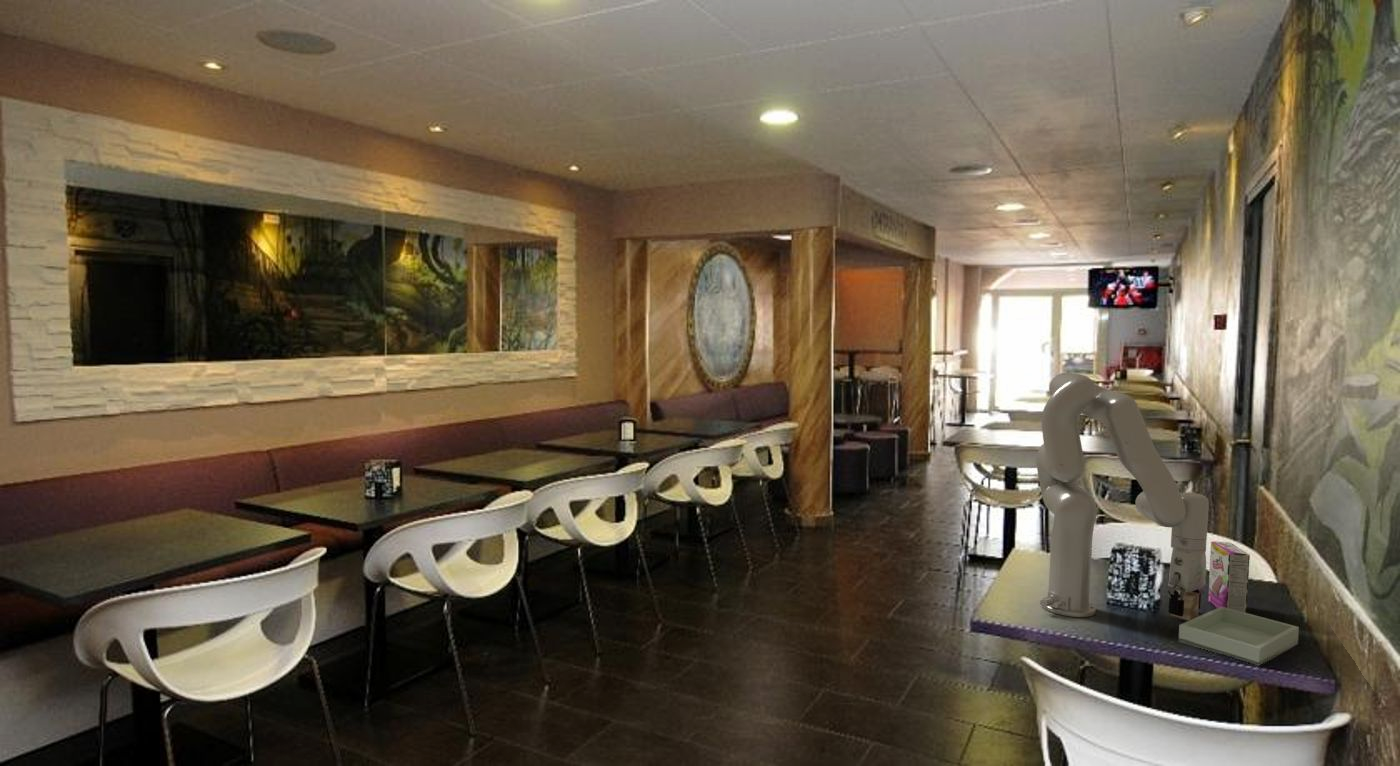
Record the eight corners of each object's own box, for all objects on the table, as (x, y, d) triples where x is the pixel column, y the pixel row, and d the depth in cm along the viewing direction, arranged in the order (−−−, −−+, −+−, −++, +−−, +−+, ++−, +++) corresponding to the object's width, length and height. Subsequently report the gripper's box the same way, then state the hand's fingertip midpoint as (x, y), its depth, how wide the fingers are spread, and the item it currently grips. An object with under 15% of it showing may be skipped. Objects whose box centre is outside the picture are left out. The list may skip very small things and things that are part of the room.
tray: (1258, 666, 170) (1259, 648, 170) (1178, 641, 183) (1179, 624, 183) (1297, 644, 183) (1298, 627, 182) (1220, 622, 196) (1221, 606, 195)
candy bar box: (1206, 601, 210) (1209, 540, 209) (1227, 603, 209) (1231, 542, 208) (1224, 616, 199) (1229, 552, 198) (1247, 618, 198) (1251, 553, 197)
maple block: (1189, 620, 196) (1191, 597, 196) (1170, 615, 200) (1171, 591, 200) (1197, 617, 199) (1199, 593, 199) (1178, 611, 203) (1180, 588, 202)
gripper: (1188, 552, 190) (1184, 622, 191) (1220, 541, 200) (1216, 608, 201) (1155, 544, 196) (1151, 613, 197) (1188, 534, 206) (1184, 600, 208)
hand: (1184, 610), depth 199 cm, fingers open, 8 cm apart
